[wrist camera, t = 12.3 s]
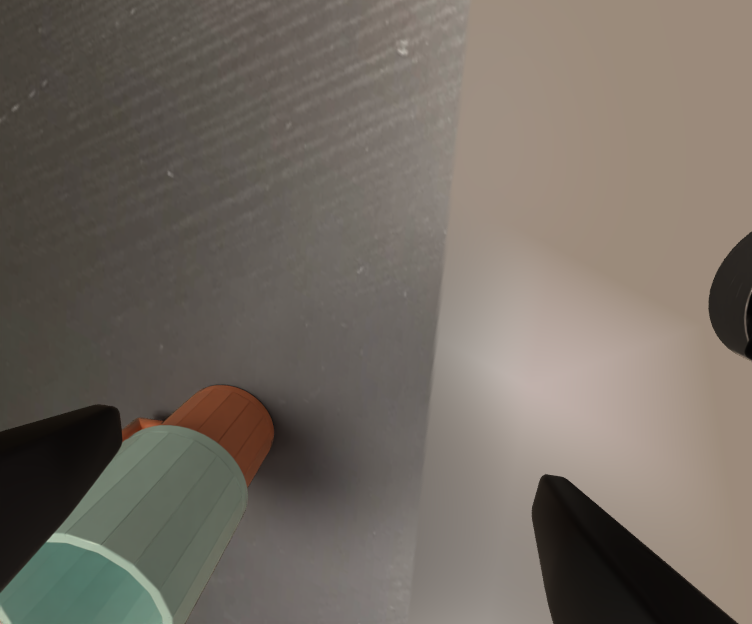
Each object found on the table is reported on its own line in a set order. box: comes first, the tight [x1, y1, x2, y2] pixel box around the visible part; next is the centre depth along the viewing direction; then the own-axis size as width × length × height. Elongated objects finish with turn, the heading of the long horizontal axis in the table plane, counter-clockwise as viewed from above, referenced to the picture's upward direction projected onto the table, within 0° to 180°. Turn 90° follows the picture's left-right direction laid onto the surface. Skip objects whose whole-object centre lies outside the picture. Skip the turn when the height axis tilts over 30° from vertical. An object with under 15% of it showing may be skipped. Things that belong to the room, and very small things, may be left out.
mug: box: [122, 385, 274, 489], centre depth 21 cm, size 8×6×5 cm
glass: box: [0, 425, 248, 624], centre depth 16 cm, size 7×7×6 cm
